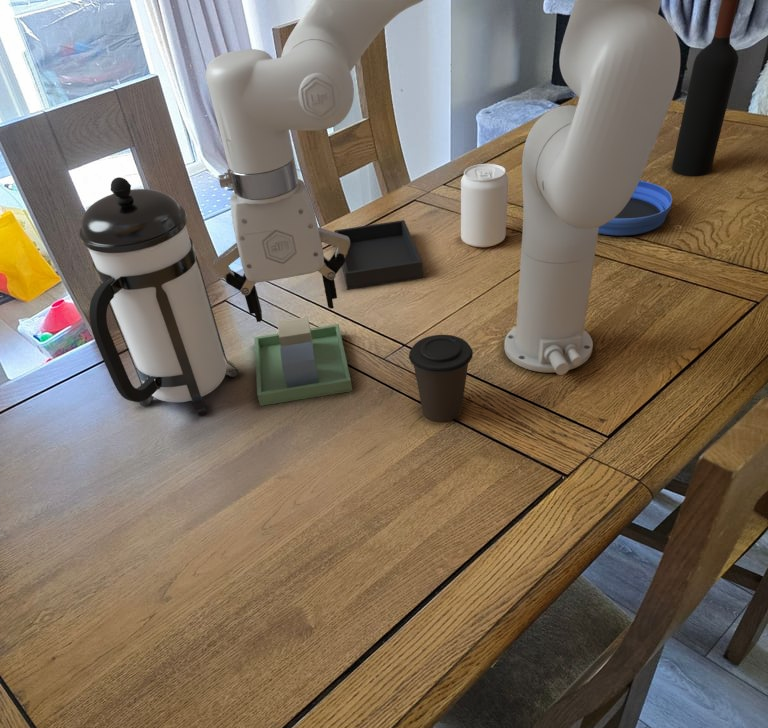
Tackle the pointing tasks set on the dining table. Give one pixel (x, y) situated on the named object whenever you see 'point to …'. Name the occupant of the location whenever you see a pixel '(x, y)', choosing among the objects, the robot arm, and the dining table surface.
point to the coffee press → (152, 297)
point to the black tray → (380, 255)
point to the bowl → (640, 211)
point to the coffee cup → (441, 375)
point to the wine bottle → (707, 98)
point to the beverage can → (484, 205)
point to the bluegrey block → (299, 364)
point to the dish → (327, 362)
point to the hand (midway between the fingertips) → (294, 310)
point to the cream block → (294, 331)
